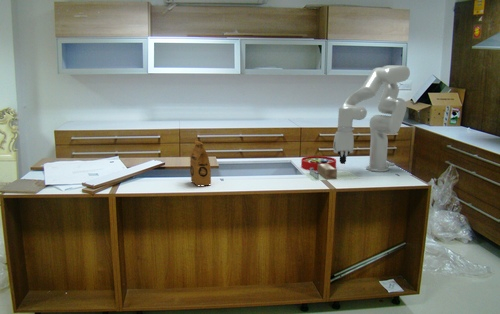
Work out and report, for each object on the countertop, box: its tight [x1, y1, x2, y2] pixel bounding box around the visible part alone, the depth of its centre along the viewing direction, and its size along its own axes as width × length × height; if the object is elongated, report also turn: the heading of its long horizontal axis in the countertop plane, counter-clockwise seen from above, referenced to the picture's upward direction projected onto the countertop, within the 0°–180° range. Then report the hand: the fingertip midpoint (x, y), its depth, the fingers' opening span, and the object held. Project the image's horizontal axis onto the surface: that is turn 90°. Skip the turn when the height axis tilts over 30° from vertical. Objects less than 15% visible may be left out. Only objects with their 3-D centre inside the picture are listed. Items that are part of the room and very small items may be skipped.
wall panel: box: [303, 170, 359, 182], centre depth 249 cm, size 26×16×1 cm, turn 100°
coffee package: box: [189, 140, 212, 186], centre depth 236 cm, size 10×12×22 cm
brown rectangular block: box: [317, 164, 338, 180], centre depth 248 cm, size 6×14×5 cm, turn 10°
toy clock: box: [300, 155, 337, 171], centre depth 269 cm, size 20×6×20 cm
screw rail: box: [309, 168, 320, 181], centre depth 247 cm, size 2×13×4 cm, turn 10°
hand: (342, 163), depth 248 cm, fingers closed
